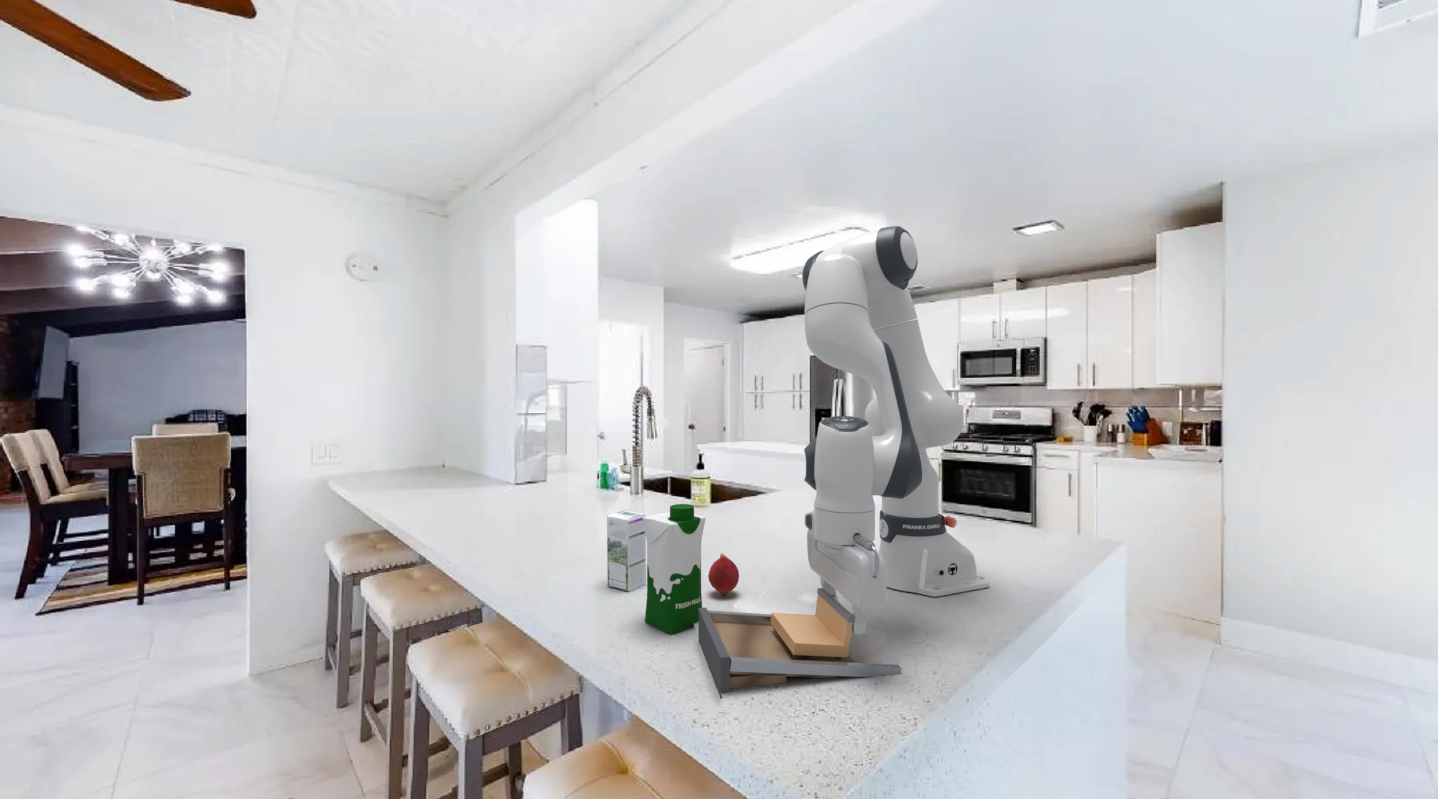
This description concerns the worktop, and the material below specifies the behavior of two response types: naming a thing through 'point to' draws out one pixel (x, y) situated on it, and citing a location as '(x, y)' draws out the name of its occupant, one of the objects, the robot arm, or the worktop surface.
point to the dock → (765, 653)
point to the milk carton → (673, 568)
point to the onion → (723, 575)
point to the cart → (817, 629)
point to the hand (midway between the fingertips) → (843, 619)
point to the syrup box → (626, 550)
